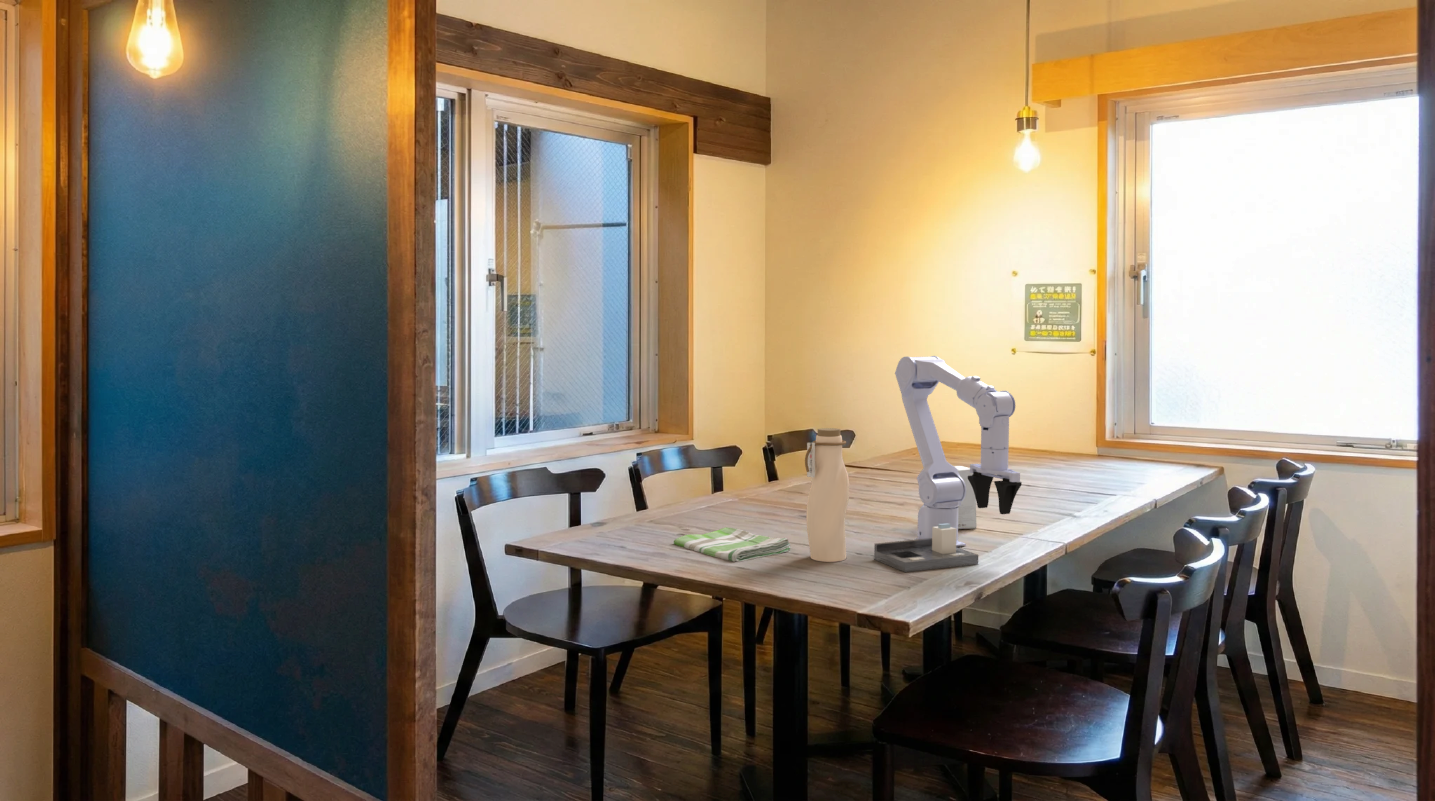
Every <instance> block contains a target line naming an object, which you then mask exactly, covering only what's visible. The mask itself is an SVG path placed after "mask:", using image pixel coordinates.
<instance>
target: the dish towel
mask: <svg viewBox="0 0 1435 801" xmlns="http://www.w3.org/2000/svg"><path fill="white" fill-rule="evenodd" d="M673 544H674V545H676V546H679V547H681V548H685V549H688V550H691V551H695V552H697V553H701V554H704V555H707V556H711V557H713V558H718V559H722V560H725V561H730V562H734V563H735V562H738V563H740V562H744V561H750V560H754V559H758V558H764V557H769V556H774V555H780V554H783V553H790V550H791V549H793V548H792V546H791V545H792V544H791V543H790V542H789V538H785V537H784V538H777V537H769V536H766V535H760V534H757V535H756V534H754V533H751V532H749V531H746V530H742V529H739V528H734V527H726V526H725V527H722V528H720V529H718V530H714V531H711V532H710V531H709V532H706V533H704V534H697V533H696V534H693V533H692V534H685V535H682V536H680V537H679V536H678V537H677V538H675V539H674V540H673Z"/></svg>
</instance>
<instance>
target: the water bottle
mask: <svg viewBox="0 0 1435 801" xmlns="http://www.w3.org/2000/svg"><path fill="white" fill-rule="evenodd" d="M846 444H847V441H846V440H843V437H842V435H841V429H840V428H834V427H824V428H823V427H821V428H817V434H816V435H815V440H813V441H812V442H806V449H807V450H806V453H805V457H804V466H805V470H806V477H808V478H810V481H811V483H810V484H811V485H810V488H809V491H808V496H807V503H806V516H805V517H806V520H805V521H806V532H807V539H808V546H809V553H810V559H812V560H814V561H817V562H823V563H824V562H825V563H826V562H827V563H832V562H842V561H844V560H847V546H846V545H847V544H846V523H845V522H846V521H845V520H846V519H845V518H846V514H847V510H848V509H847V508H848V504H849V498H850V480H849V479H850V478H849V473H848V471H847V468H846V465H845V461H844V459H843V458H844V457H843V446H844V445H846Z"/></svg>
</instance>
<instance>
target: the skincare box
mask: <svg viewBox="0 0 1435 801" xmlns="http://www.w3.org/2000/svg"><path fill="white" fill-rule="evenodd" d="M953 466H954V467H955V468H957V470H958V473H959V475H960V477H961V478H962V479H963V480H964V482H965V485H966V496H965V498H964V500H963V501H961V506H958V530H960V529H973V530H974V529H977V502H976V498H975V494H974V491H973V488H972V486H971V484H970V482H969V480H968V476H972V474H973V473H970V467H966V466H963V465H953Z"/></svg>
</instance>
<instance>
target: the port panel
mask: <svg viewBox="0 0 1435 801" xmlns="http://www.w3.org/2000/svg"><path fill="white" fill-rule="evenodd" d="M873 558H874V561H877V562H879V563H882V564H884V565H886V566H889V567H892V568H894V569H896V570H899V571H901V572H904V573H911V572H918V571H919V572H921V571H928V570H938V569H948V568H954V567H955V568H956V567H963V566H971V565H972V566H973V565H979V554H977V553H975V552H972V551H969V550H966V549H962V548H961V547H958V546H956V553H947V554H941V553H939V552H936V551H933V550H932V538H926V539H916V540H914V539H907V540H898V541H897V540H896V541H887V542H875V543H874V556H873Z"/></svg>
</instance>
